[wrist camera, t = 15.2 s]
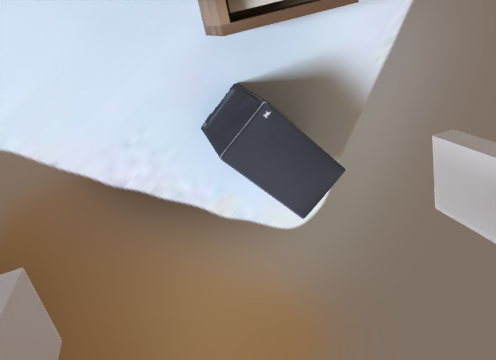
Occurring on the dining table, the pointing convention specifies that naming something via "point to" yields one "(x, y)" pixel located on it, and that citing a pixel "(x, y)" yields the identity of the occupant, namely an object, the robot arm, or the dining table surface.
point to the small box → (270, 151)
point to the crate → (257, 13)
